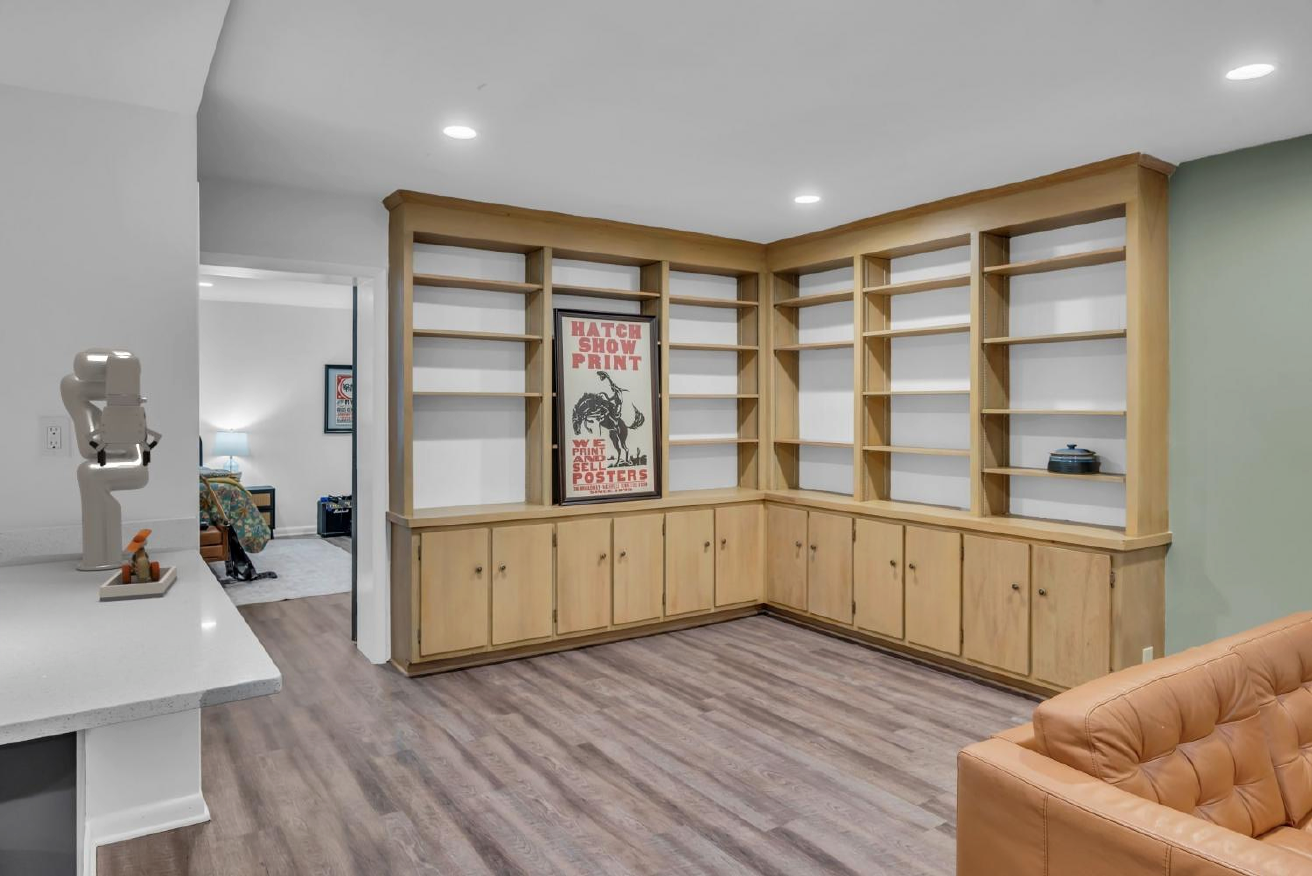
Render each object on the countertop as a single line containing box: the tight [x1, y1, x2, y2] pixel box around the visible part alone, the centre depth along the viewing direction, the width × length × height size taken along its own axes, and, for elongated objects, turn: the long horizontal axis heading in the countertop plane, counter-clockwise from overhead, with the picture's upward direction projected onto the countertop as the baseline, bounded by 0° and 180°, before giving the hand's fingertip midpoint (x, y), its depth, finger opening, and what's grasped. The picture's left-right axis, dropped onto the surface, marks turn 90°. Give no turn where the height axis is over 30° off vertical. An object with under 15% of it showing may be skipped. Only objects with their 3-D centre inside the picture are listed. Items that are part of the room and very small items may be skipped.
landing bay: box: [98, 565, 178, 602], centre depth 206 cm, size 23×13×4 cm, turn 23°
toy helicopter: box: [121, 528, 161, 584], centre depth 206 cm, size 8×21×14 cm, turn 36°
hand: (124, 465), depth 215 cm, fingers open, 9 cm apart
